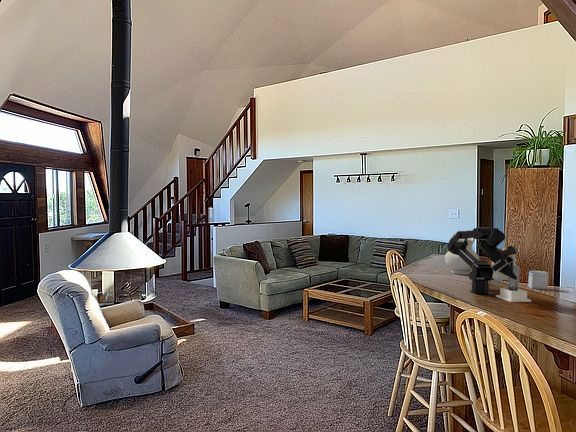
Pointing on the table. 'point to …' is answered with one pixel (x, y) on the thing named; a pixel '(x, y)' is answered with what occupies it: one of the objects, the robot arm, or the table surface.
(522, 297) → the socket
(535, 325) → the table surface
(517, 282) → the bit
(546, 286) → the medicine box
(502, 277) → the jar
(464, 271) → the ceramic pitcher
